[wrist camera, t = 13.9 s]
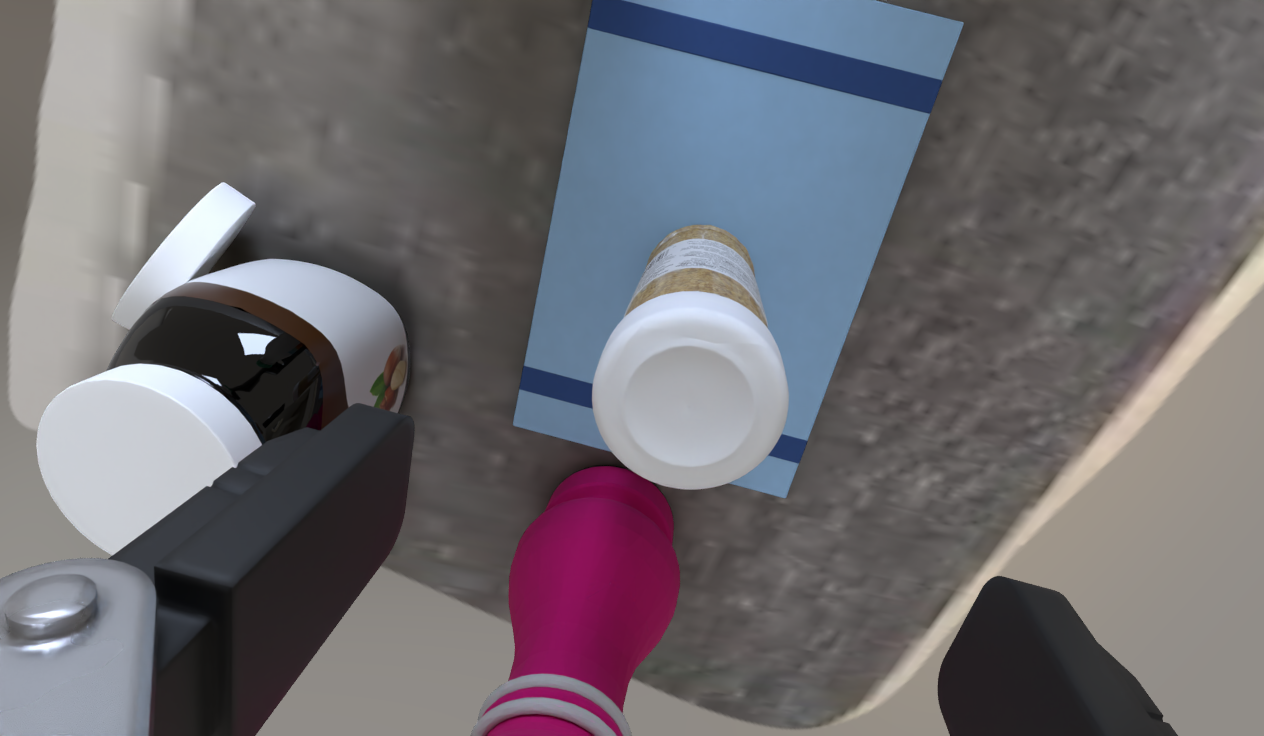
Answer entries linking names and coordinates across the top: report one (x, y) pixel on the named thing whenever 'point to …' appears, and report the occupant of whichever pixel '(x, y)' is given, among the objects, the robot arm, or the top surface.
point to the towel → (730, 180)
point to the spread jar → (212, 374)
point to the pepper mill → (585, 606)
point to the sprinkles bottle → (692, 367)
